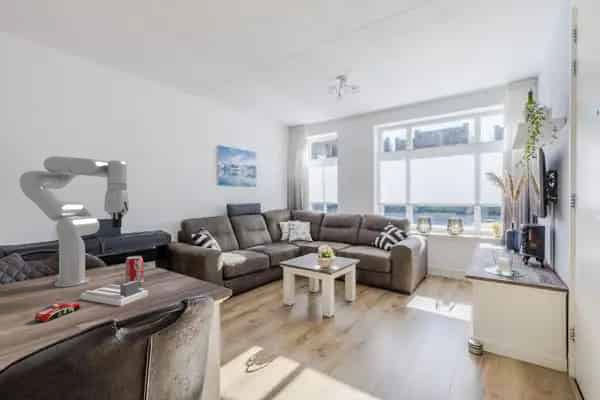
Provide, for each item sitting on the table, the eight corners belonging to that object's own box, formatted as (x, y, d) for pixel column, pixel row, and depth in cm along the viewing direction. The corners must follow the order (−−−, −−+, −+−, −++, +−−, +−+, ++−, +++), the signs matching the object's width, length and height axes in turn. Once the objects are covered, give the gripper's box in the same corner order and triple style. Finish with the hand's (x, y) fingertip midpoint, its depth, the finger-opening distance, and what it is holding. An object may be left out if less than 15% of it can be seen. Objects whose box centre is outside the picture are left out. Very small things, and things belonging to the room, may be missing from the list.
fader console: (80, 299, 112) (80, 291, 112) (109, 289, 123) (109, 283, 123) (121, 306, 105) (121, 298, 105) (148, 295, 116) (147, 288, 116)
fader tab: (120, 296, 109) (120, 284, 109) (133, 291, 114) (133, 280, 114) (126, 296, 108) (125, 285, 108) (138, 292, 113) (138, 281, 113)
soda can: (135, 287, 126) (135, 259, 126) (121, 286, 128) (121, 258, 127) (147, 283, 133) (146, 255, 133) (134, 282, 135) (134, 255, 134)
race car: (72, 307, 104) (72, 296, 104) (84, 308, 103) (84, 298, 103) (31, 322, 91) (31, 310, 91) (43, 324, 90) (43, 311, 90)
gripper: (97, 187, 127) (97, 227, 127) (121, 187, 122) (121, 228, 122) (113, 188, 134) (113, 226, 134) (136, 187, 129) (136, 227, 129)
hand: (117, 227), depth 128 cm, fingers closed
